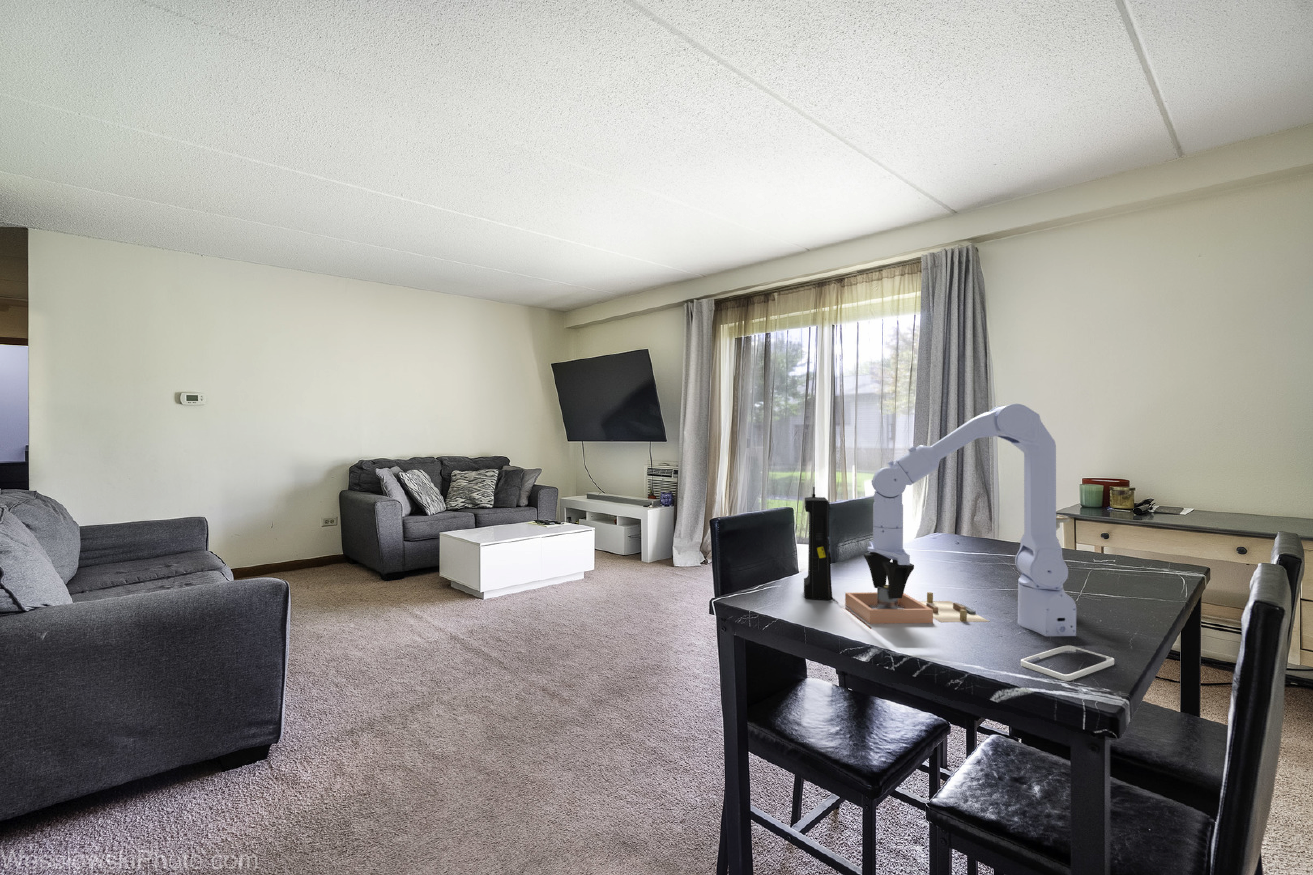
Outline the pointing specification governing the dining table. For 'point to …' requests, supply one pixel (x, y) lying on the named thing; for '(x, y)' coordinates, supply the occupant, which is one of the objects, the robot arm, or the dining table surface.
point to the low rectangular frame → (911, 614)
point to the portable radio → (818, 549)
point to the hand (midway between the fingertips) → (887, 592)
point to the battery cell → (885, 598)
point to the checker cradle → (951, 611)
